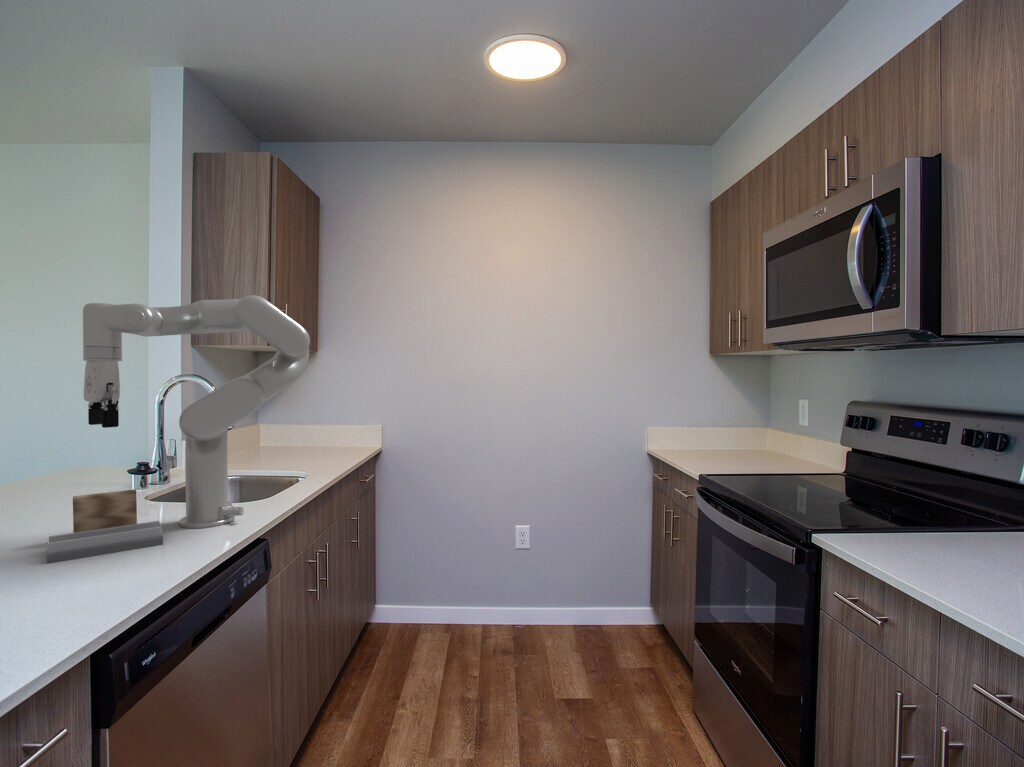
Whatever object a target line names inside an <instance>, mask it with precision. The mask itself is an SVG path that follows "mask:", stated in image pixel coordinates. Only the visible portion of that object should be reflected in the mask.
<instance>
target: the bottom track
mask: <svg viewBox="0 0 1024 767" xmlns="http://www.w3.org/2000/svg"><path fill="white" fill-rule="evenodd" d="M160 523H161V522H160V521H159V520H156V521H155V520H154V521H148V522H147V521H146V522H142V523H141V522H140V523H137V524H133V525H126V526H119V527H112V528H105V529H98V530H91V531H84V532H77V533H73V532H71V533H62V534H58V535H57V534H56V535H49V536H48V542H47V545H46V546H47V547H46V548H47V551H46V552H47V553H46V564H51V563H57V562H64V561H69V560H75V559H81V558H82V559H83V558H88V557H93V556H94V557H95V556H101V555H105V554H111V553H119V552H123V551H131V550H136V549H141V548H143V549H144V548H148V547H149V548H150V547H153V546H154V547H156V546H161V545H164V537H163V526H162V525H160Z"/></svg>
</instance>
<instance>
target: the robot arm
mask: <svg viewBox="0 0 1024 767" xmlns="http://www.w3.org/2000/svg"><path fill="white" fill-rule="evenodd" d="M234 332H235V333H237V332H252V333H254V334H255V335H256V336H258V337H259V338H261V339H262V340H263V341H265V342H266V343H268V344H269V345H270V346H271V347H273V348H274V349H275V350H276V353H275V354H274V355H273V357H271V358H270V359H269V360H267V361H265V362H264V363H262V364H260V365H259V366H258V367H256V368H254V369H253V370H250V371H249V372H248V373H246V374H243V375H242V376H239V377H235V378H233V379H231V380H229V381H227V382H226V383H224V384H223V385H221V386H218V388H216V389H214V390H212V391H210V392H209V393H207V394H206V395H204V396H202V397H201V398H199V399H197V400H196V401H194V402H193V403H191V404H189V405H188V406H186V407H185V408H184V409H183V410H182V412H181V414H180V416H179V419H178V420H179V421H178V425H179V429H180V430H181V433H182V434H183V435H184V436H185V444H184V445H185V447H184V452H185V454H184V456H185V463H184V466H185V469H184V470H185V516H184V517H182V518H180V519H179V521H178V525H179V527H182V528H183V529H204V528H205V529H206V527H207V528H213V526H214V527H218V526H219V527H220V526H223V525H225V524H229V523H231V522H233V521H234V520H235V517H237V516H240V517H241V516H243V515H244V510H245V509H244V508H243V507H242V506H233V501H229V498H228V497H229V495H228V494H229V492H228V491H229V490H228V489H229V484H228V483H229V482H228V479H229V478H228V431H229V429H230V428H231V427H233V426H234V425H236V424H237V423H239V422H241V421H243V420H244V419H246V418H247V417H249V416H251V415H253V413H255V412H256V411H258V410H259V409H260V407H261V406H262V405H263V404H265V402H266V401H269V399H271V398H273V397H274V396H276V395H277V394H278V393H280V392H282V391H283V390H285V389H286V388H288V387H289V386H290V385H291V384H293V383H295V382H296V381H297V380H298V379H299V378H300V377H301V375H302V374H303V373H304V371H305V369H306V367H307V365H308V362H309V358H310V345H311V344H310V343H311V339H310V337H311V336H310V334H309V333H308V331H307V329H305V328H304V327H303V326H302V325H301V324H299V323H298V322H296V320H294V319H293V318H291V317H289V316H288V315H287V314H286V313H285V312H283V311H281V309H279V308H278V307H276V306H275V305H273V304H272V303H271V302H270V301H268V300H267V299H266V298H264V297H262V296H259V295H256V294H254V295H253V294H252V295H246V296H244V297H241V298H233V299H232V298H230V299H227V298H226V299H201V300H197V301H195V302H192V303H189V304H186V305H185V304H184V305H179V306H178V305H177V306H164V307H163V306H159V307H158V306H157V307H153V306H152V307H150V306H148V305H145V304H142V303H124V304H123V303H121V304H112V303H103V302H90V303H89V302H88V303H85V304H84V305H83V308H82V346H83V347H82V352H83V353H82V360H83V362H84V361H85V368H84V382H83V399H84V401H86V402H88V405H87V407H88V409H87V411H88V417H87V418H88V422H87V424H88V425H90V426H93V425H95V426H97V425H101V427H102V428H103V429H105V428H118V427H119V426H120V425H119V423H120V421H119V416H120V414H119V412H120V411H119V410H120V408H119V404H120V403H119V401H120V394H121V393H120V392H121V386H120V385H121V384H120V367H119V362H122V361H123V346H122V345H123V343H122V342H123V341H122V338H123V337H122V336H123V333H124V334H129V335H137V336H140V337H163V336H166V337H167V336H178V335H180V336H181V335H205V334H220V333H234Z"/></svg>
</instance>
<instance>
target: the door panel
mask: <svg viewBox="0 0 1024 767" xmlns="http://www.w3.org/2000/svg"><path fill="white" fill-rule="evenodd" d="M137 502H138V500H137V490H136V489H126V490H125V489H124V490H118V491H110V492H99V493H91V494H82V495H73V496H72V517H73V518H72V526H73V528H72V530H73V531H72V533H77V532H84V531H91V530H98V529H105V528H112V527H119V526H126V525H133V524H138V512H137V511H138V510H137V508H138V506H137V504H138V503H137Z"/></svg>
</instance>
